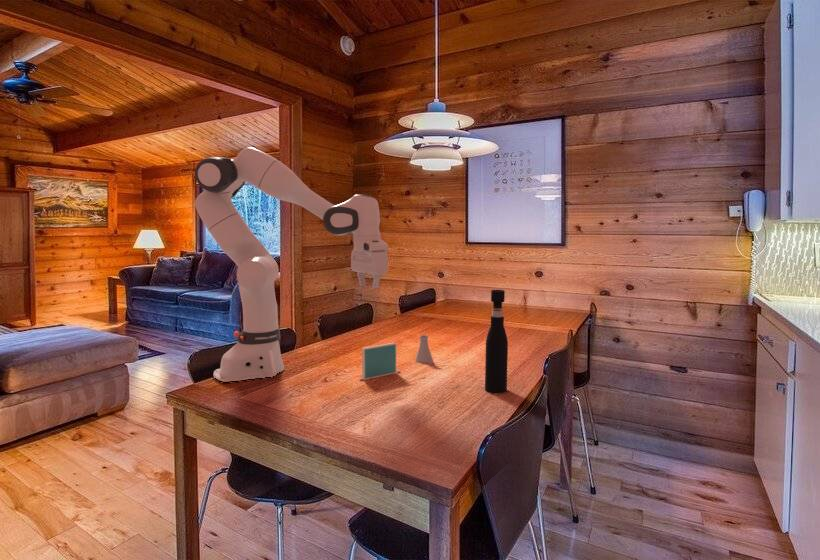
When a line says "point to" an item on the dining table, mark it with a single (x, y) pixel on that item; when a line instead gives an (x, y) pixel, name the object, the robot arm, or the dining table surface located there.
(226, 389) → the dining table surface
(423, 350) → the flask
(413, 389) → the dining table surface
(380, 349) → the tile
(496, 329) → the wine bottle
